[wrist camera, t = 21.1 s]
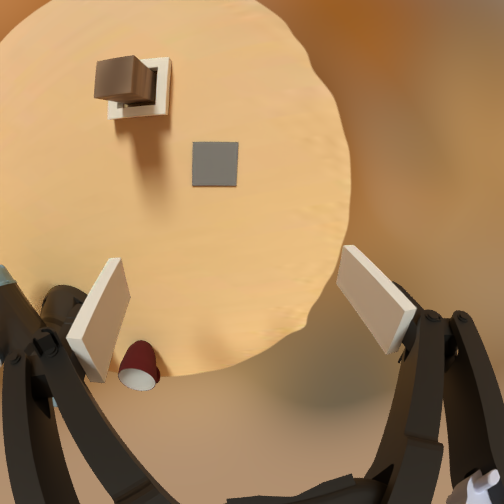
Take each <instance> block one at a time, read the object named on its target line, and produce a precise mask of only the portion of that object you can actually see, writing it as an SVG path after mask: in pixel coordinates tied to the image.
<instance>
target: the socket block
mask: <svg viewBox="0 0 504 504" xmlns="http://www.w3.org/2000/svg"><path fill="white" fill-rule="evenodd" d="M140 61H141V62H142V63H143V64H145V65H146V66H147V67H148V68H149V69H150V70H151V71H158V73H157V87H156V105H147V106H136V107H127V108H123V103H119V102H114V101H108V119H110V120H114V119H122V118H132V117H143V116H156V115H168V110H169V91H170V76H171V64H172V61H171V59H170V58H169V57H162V58H151V59H141V60H140Z"/></svg>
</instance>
